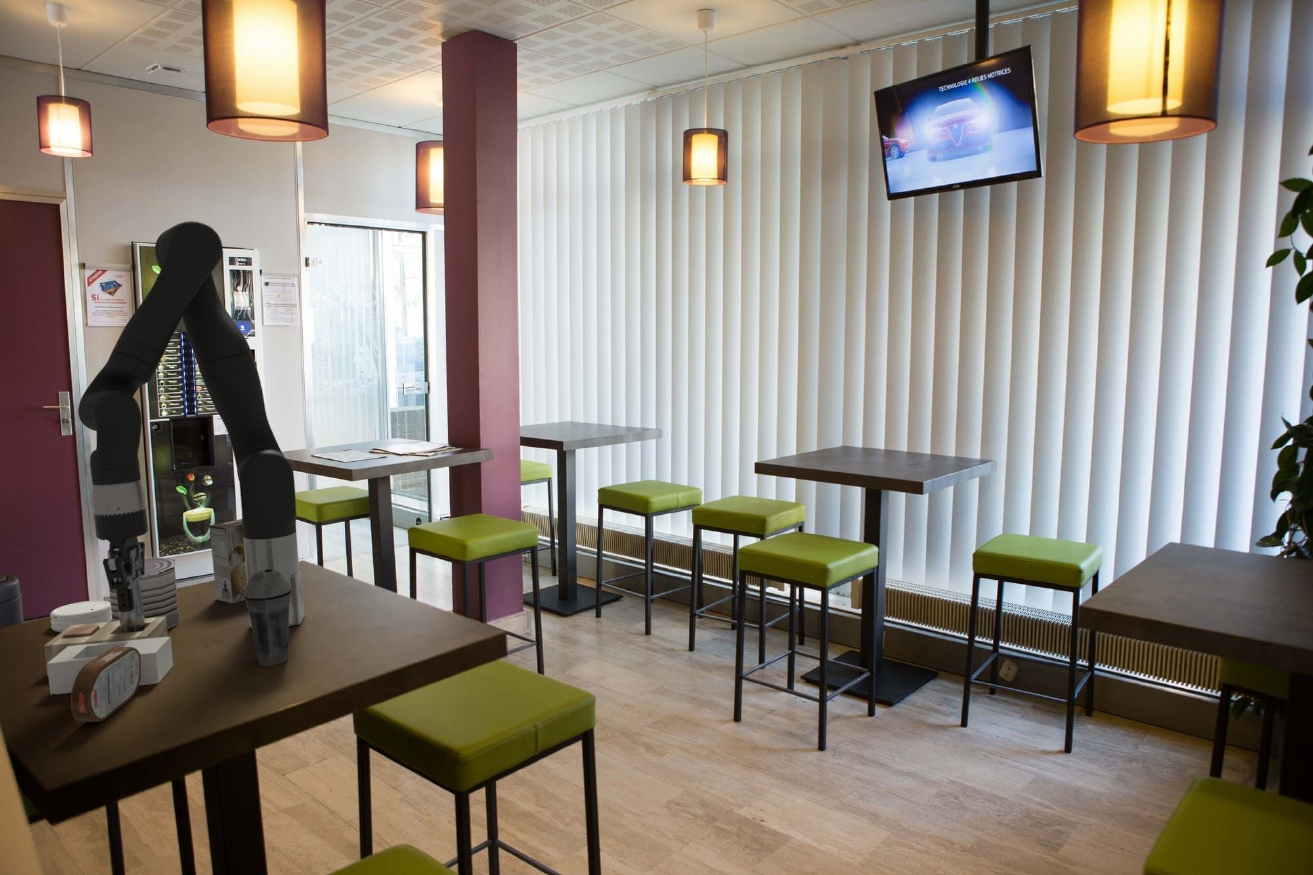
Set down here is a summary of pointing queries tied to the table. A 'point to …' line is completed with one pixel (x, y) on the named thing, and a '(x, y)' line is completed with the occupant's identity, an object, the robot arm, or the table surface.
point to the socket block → (105, 635)
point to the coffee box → (228, 560)
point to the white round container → (80, 614)
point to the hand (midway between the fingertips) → (130, 607)
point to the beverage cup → (269, 614)
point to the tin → (105, 684)
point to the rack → (74, 658)
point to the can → (156, 592)
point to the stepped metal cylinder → (134, 618)
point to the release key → (81, 631)
